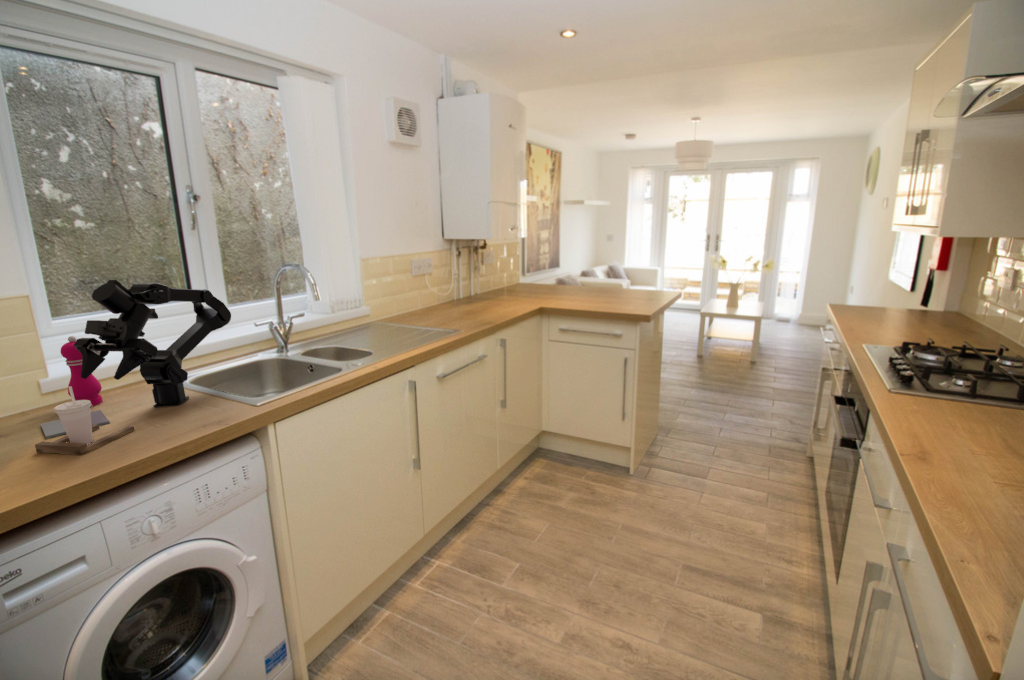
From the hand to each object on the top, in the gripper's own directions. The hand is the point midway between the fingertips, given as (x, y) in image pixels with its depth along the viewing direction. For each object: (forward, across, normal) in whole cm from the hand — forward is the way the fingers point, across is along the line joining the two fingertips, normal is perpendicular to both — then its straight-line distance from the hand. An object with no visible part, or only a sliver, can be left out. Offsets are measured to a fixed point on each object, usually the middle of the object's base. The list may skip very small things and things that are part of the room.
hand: (99, 378), depth 118 cm
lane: (+14, 0, +5) cm, 15 cm away
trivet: (+8, -13, +11) cm, 19 cm away
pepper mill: (-1, -24, +21) cm, 32 cm away
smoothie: (+15, 0, +4) cm, 16 cm away
